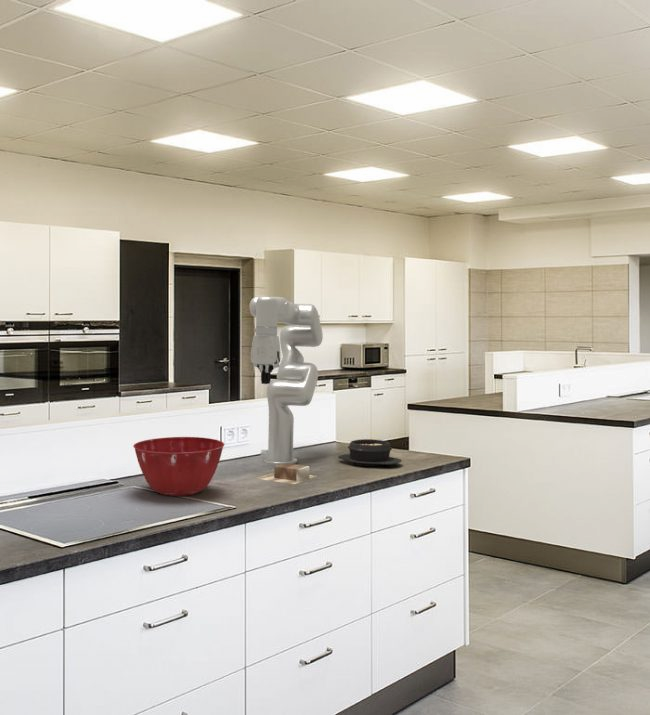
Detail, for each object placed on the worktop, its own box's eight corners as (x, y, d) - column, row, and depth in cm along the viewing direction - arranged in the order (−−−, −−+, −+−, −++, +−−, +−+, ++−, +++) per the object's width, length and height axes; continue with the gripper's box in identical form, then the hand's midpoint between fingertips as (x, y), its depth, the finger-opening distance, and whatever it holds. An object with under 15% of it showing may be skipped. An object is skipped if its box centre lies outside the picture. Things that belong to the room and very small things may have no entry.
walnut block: (274, 466, 283) (299, 469, 278) (285, 463, 289) (309, 466, 284) (274, 477, 283) (298, 481, 278) (285, 474, 289) (309, 477, 284)
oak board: (254, 480, 282) (254, 478, 282) (279, 472, 295) (279, 470, 295) (294, 485, 274) (294, 484, 274) (318, 477, 288) (318, 476, 288)
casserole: (329, 464, 314) (329, 442, 313) (351, 456, 330) (352, 436, 329) (388, 471, 301) (389, 448, 301) (409, 463, 318) (409, 442, 317)
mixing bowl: (181, 506, 243) (181, 454, 242) (113, 493, 258) (113, 444, 257) (241, 489, 266) (242, 442, 265) (176, 478, 282) (176, 433, 281)
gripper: (243, 331, 291) (242, 383, 292) (278, 332, 284) (277, 385, 285) (255, 331, 298) (254, 381, 299) (290, 332, 290) (289, 384, 292)
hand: (265, 383), depth 292 cm, fingers closed
